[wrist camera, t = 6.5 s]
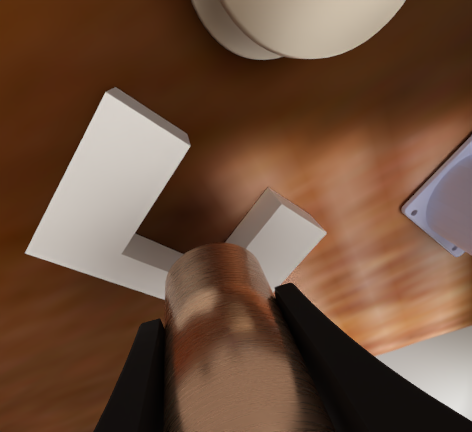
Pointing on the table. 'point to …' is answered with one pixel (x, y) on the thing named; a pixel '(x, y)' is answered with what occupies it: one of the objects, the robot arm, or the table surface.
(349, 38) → the bobbin
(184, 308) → the copper peg
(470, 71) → the table surface
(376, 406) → the robot arm
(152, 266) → the notched board
